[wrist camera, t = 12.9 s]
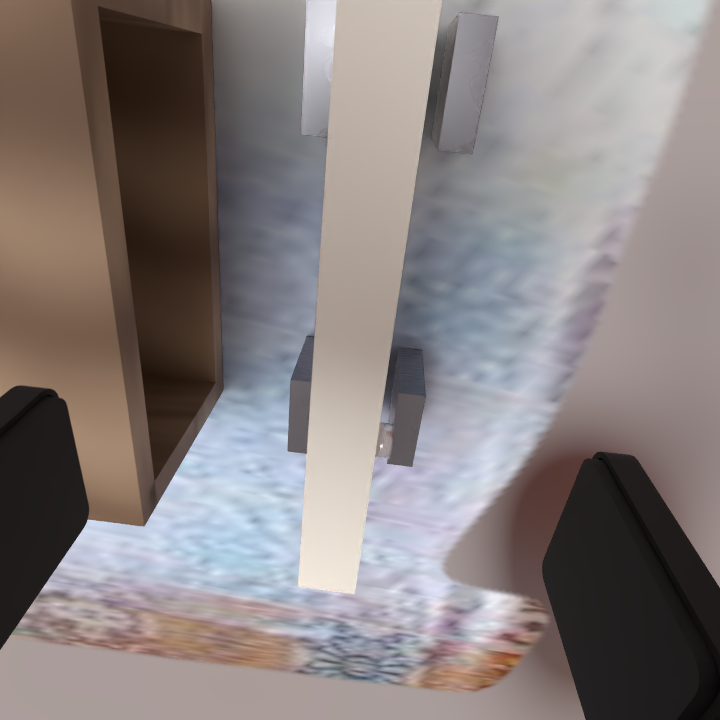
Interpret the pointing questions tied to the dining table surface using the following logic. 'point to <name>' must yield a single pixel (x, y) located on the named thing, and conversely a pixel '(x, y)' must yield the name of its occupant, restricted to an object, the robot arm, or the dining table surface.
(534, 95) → the dining table surface
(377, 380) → the cabinet door
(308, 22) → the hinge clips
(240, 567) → the dining table surface
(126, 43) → the cabinet body
